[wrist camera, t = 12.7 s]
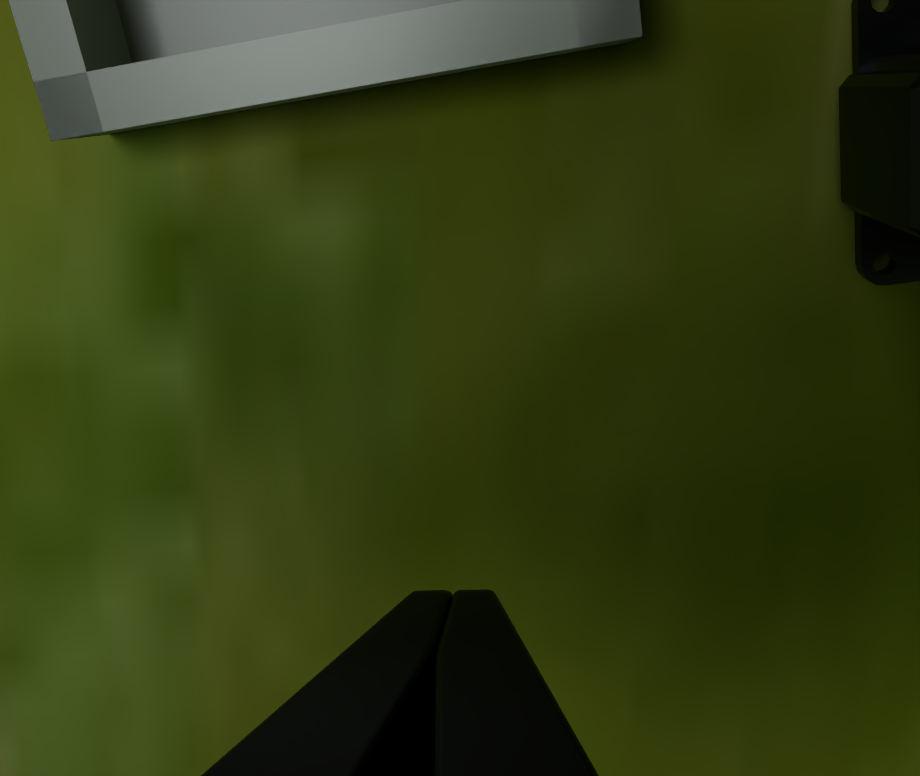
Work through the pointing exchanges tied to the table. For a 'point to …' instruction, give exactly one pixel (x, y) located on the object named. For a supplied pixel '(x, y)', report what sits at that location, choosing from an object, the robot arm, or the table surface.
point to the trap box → (277, 50)
